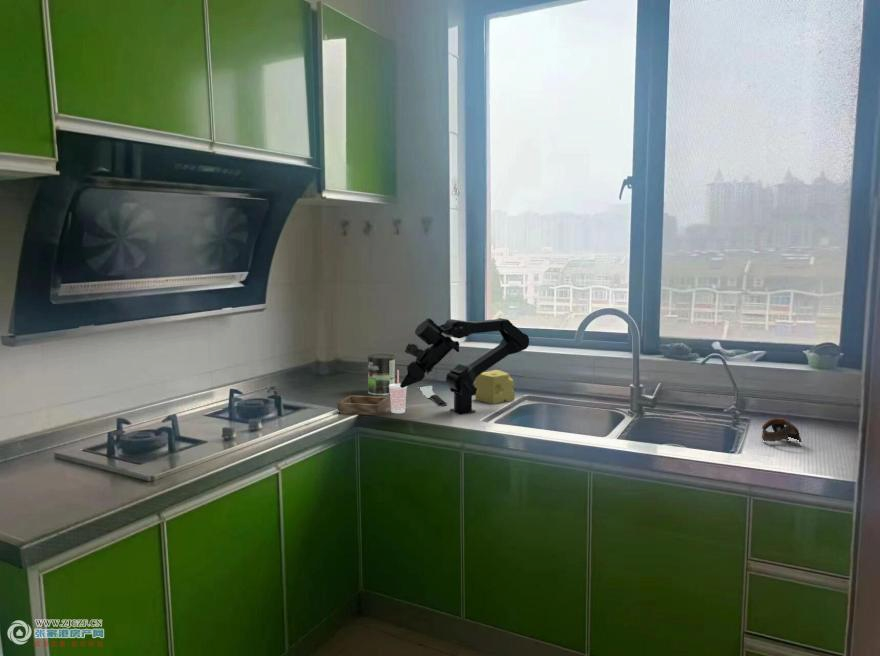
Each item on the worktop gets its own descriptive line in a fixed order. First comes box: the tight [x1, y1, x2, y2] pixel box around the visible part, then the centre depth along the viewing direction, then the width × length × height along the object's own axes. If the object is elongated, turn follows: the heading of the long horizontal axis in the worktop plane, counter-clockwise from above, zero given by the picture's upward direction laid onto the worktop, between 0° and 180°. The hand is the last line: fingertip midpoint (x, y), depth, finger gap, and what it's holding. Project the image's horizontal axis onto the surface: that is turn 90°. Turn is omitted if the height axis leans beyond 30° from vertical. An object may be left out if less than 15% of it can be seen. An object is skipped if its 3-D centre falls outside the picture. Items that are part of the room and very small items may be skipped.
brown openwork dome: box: [761, 417, 802, 443], centre depth 178 cm, size 12×10×8 cm
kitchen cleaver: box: [420, 385, 447, 407], centre depth 235 cm, size 31×2×10 cm
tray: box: [336, 394, 390, 416], centre depth 214 cm, size 14×12×3 cm
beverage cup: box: [389, 369, 408, 414], centre depth 212 cm, size 6×6×14 cm
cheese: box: [474, 369, 516, 405], centre depth 230 cm, size 10×11×10 cm
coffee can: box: [367, 353, 396, 396], centre depth 241 cm, size 10×10×14 cm
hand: (404, 384), depth 210 cm, fingers open, 9 cm apart
